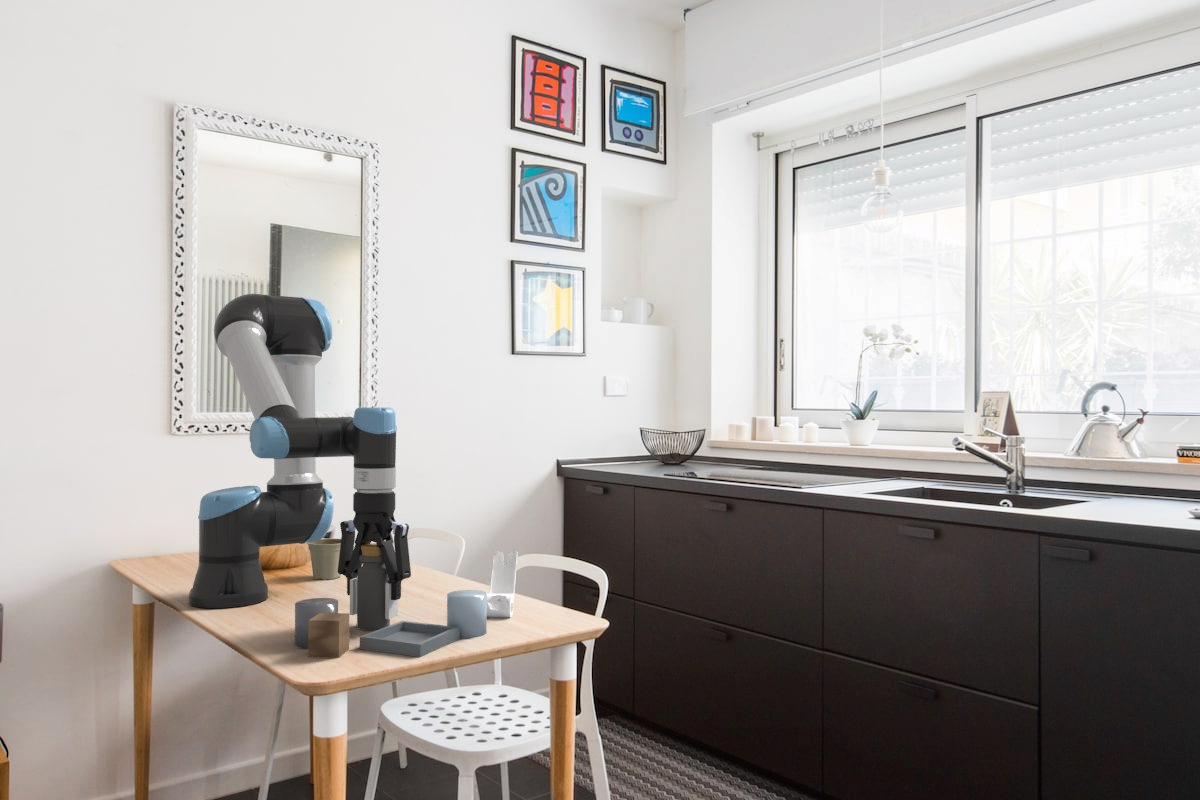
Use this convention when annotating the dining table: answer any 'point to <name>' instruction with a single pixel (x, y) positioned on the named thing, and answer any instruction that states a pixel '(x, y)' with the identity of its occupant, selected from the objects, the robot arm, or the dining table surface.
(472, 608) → the light blue cylinder
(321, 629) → the walnut block
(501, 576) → the plastic part
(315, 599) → the gray domed object
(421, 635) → the tray
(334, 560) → the flower pot
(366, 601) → the bottle
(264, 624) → the dining table surface
